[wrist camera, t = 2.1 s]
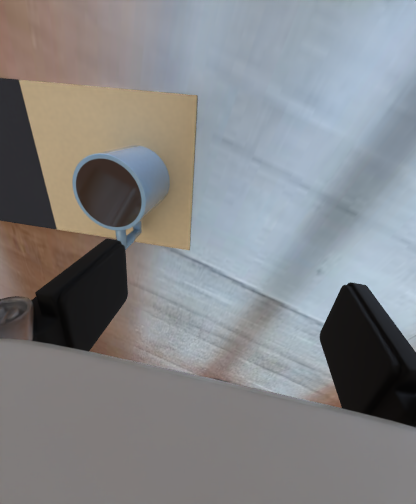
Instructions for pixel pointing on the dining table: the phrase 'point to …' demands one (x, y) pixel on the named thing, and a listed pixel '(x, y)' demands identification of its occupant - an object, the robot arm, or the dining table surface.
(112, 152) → the mug
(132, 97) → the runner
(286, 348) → the dining table surface
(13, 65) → the dining table surface
